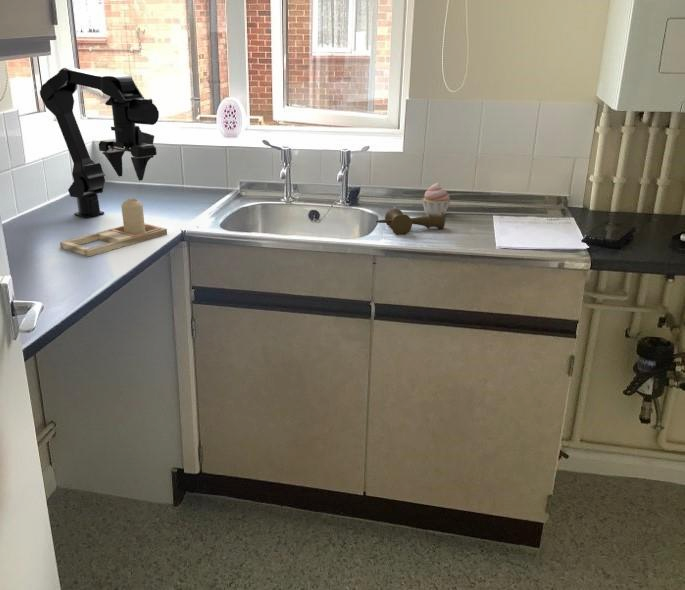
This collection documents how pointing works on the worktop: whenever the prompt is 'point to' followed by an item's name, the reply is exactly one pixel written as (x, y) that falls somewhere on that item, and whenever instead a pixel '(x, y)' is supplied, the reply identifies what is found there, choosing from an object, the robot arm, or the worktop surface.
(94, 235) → the rail frame
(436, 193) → the cupcake
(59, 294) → the worktop surface
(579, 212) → the worktop surface
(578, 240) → the worktop surface
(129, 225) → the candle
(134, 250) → the worktop surface
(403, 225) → the kendama
